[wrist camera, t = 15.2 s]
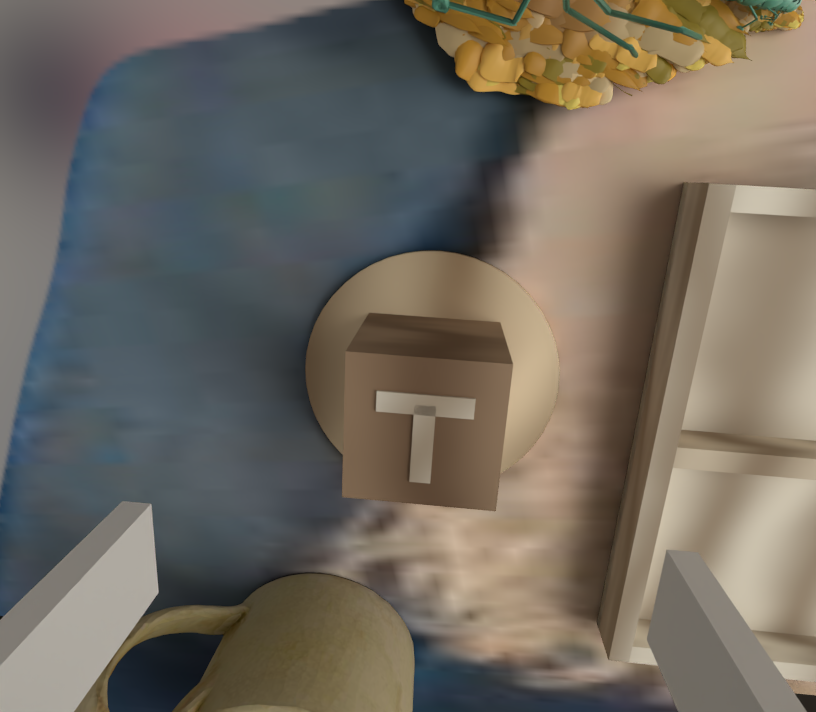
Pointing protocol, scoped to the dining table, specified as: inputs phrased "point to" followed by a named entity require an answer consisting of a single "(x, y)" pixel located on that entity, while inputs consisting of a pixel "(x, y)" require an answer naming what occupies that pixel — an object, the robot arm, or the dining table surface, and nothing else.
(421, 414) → the letter cube
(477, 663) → the dining table surface
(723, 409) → the tray
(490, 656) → the dining table surface
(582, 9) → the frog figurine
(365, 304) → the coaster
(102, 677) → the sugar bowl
